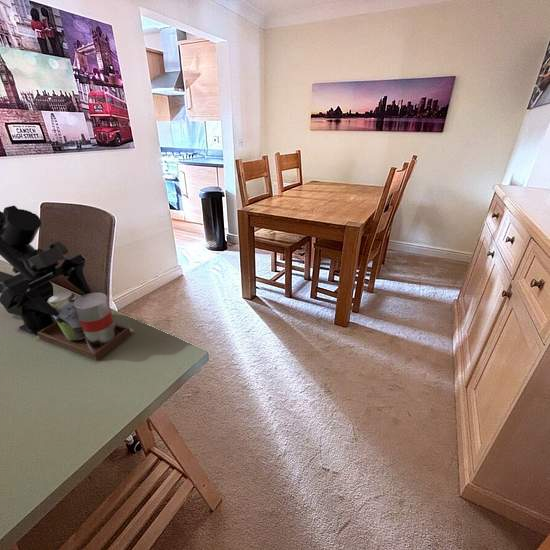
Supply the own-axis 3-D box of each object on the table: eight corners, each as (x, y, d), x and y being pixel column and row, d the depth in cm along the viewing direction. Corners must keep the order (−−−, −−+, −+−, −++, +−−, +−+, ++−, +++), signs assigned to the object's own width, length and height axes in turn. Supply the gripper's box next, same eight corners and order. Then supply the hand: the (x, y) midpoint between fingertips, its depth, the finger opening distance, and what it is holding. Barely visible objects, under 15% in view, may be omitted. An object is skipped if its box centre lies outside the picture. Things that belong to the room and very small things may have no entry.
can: (81, 346, 72) (65, 304, 66) (104, 329, 78) (92, 290, 72) (102, 353, 70) (88, 311, 64) (124, 336, 76) (113, 296, 70)
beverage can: (91, 341, 74) (77, 300, 68) (57, 346, 72) (39, 304, 66) (97, 326, 79) (85, 286, 73) (66, 329, 77) (50, 289, 72)
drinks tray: (39, 339, 75) (36, 332, 74) (77, 316, 83) (74, 310, 82) (97, 360, 69) (94, 353, 68) (131, 334, 77) (129, 327, 76)
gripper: (-15, 251, 57) (50, 309, 60) (69, 222, 73) (118, 269, 75) (-26, 281, 63) (33, 333, 65) (54, 248, 78) (100, 291, 81)
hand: (75, 304), depth 72 cm, fingers open, 9 cm apart
